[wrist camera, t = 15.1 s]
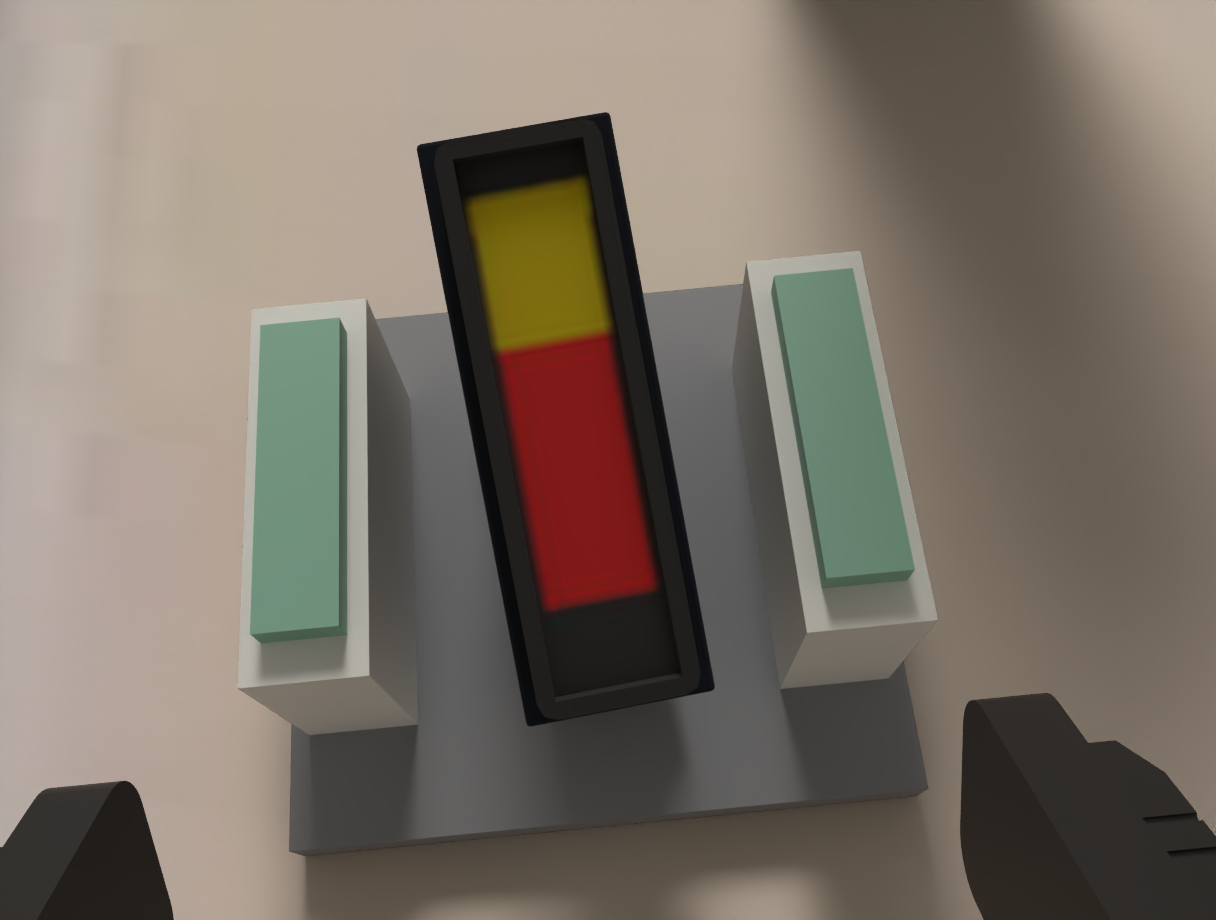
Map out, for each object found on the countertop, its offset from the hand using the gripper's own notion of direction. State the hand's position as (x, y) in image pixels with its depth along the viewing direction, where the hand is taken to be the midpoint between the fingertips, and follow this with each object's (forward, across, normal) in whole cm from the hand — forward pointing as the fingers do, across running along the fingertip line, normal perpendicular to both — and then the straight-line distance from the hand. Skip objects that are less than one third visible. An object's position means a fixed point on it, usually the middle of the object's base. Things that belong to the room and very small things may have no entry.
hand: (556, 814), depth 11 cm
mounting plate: (+22, 0, +8) cm, 24 cm away
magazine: (+21, 0, +8) cm, 23 cm away
